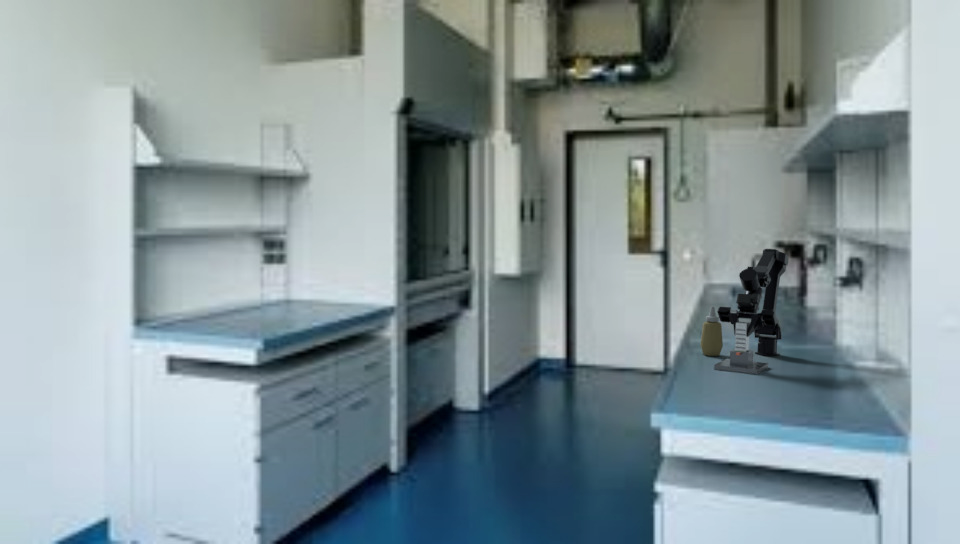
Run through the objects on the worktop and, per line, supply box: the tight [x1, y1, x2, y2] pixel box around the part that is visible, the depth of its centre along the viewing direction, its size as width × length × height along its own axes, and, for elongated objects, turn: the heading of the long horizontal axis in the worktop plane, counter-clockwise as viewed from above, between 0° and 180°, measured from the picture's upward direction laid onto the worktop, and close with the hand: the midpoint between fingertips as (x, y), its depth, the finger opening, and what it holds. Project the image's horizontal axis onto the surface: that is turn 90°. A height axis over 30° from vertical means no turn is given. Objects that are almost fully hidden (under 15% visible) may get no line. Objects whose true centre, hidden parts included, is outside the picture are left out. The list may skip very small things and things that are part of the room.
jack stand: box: [713, 348, 769, 375], centre depth 255 cm, size 14×14×6 cm
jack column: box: [734, 321, 751, 353], centre depth 254 cm, size 4×4×10 cm
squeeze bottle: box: [699, 306, 724, 357], centre depth 280 cm, size 8×8×18 cm
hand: (741, 335), depth 253 cm, fingers closed on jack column, 4 cm apart
